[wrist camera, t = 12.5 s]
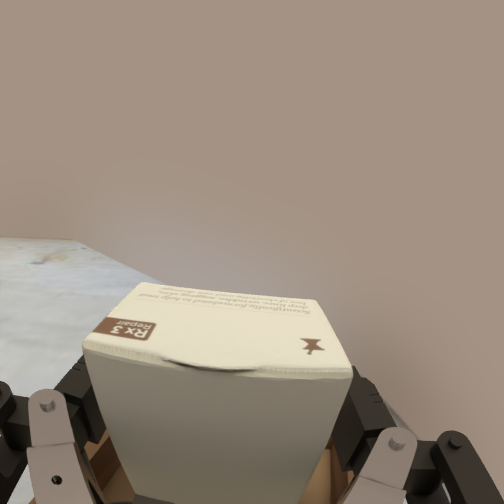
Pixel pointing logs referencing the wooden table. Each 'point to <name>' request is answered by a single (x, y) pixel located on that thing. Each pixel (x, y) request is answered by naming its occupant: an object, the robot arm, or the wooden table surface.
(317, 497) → the walnut box
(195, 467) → the skincare box
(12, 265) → the wooden table surface
